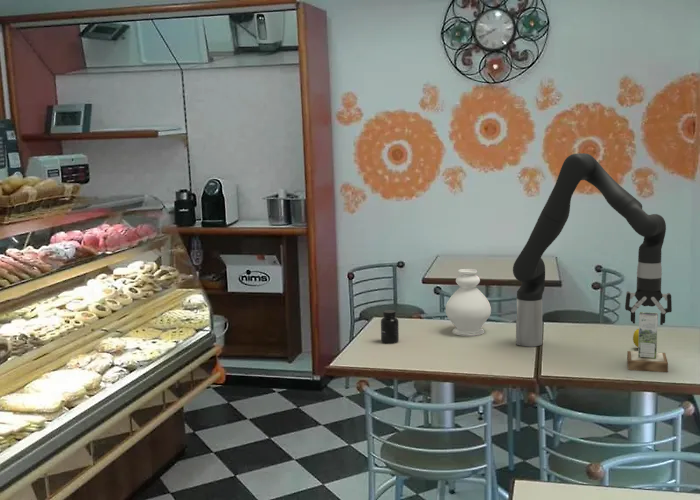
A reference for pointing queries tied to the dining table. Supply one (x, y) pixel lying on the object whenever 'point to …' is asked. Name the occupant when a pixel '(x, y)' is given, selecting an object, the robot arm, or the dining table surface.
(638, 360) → the plinth
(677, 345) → the dining table surface
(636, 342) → the lemon
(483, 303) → the decorative vase
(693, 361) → the dining table surface
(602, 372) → the dining table surface
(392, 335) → the supplement bottle
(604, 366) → the dining table surface
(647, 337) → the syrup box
